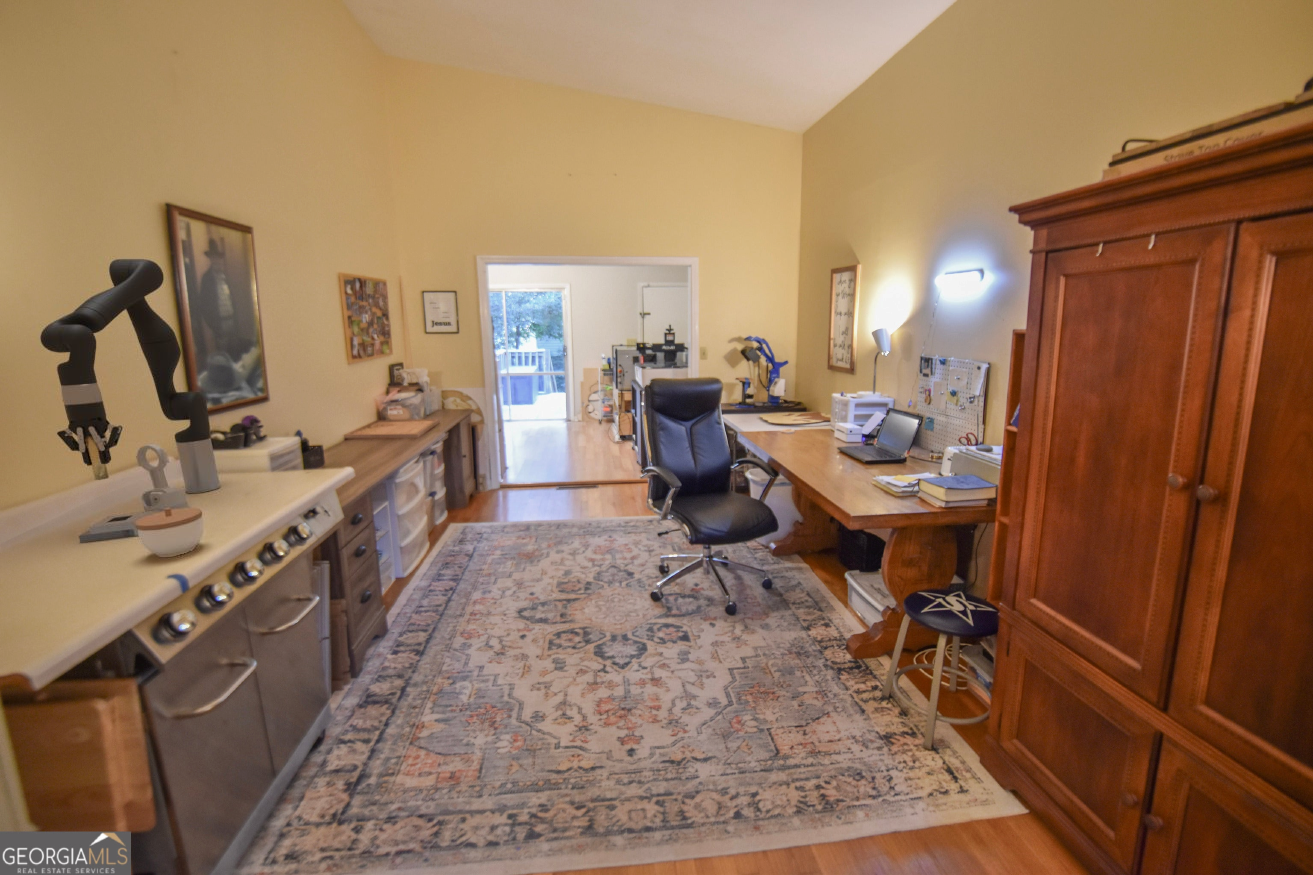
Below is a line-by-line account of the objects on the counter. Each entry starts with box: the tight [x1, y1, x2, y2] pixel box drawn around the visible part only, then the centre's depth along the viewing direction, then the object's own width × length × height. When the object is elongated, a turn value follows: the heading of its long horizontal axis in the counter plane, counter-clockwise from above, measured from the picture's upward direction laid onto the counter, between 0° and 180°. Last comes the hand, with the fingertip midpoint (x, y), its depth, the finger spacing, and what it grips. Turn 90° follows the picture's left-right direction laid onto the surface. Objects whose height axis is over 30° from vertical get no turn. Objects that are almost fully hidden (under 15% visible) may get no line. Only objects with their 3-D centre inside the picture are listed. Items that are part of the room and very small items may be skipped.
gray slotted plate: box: [78, 507, 185, 544], centre depth 160 cm, size 9×20×4 cm, turn 109°
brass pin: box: [85, 436, 110, 481], centre depth 160 cm, size 3×3×12 cm
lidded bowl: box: [135, 507, 204, 558], centre depth 143 cm, size 13×13×11 cm
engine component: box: [135, 443, 189, 512], centre depth 176 cm, size 11×20×10 cm
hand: (98, 464), depth 160 cm, fingers closed on brass pin, 2 cm apart
